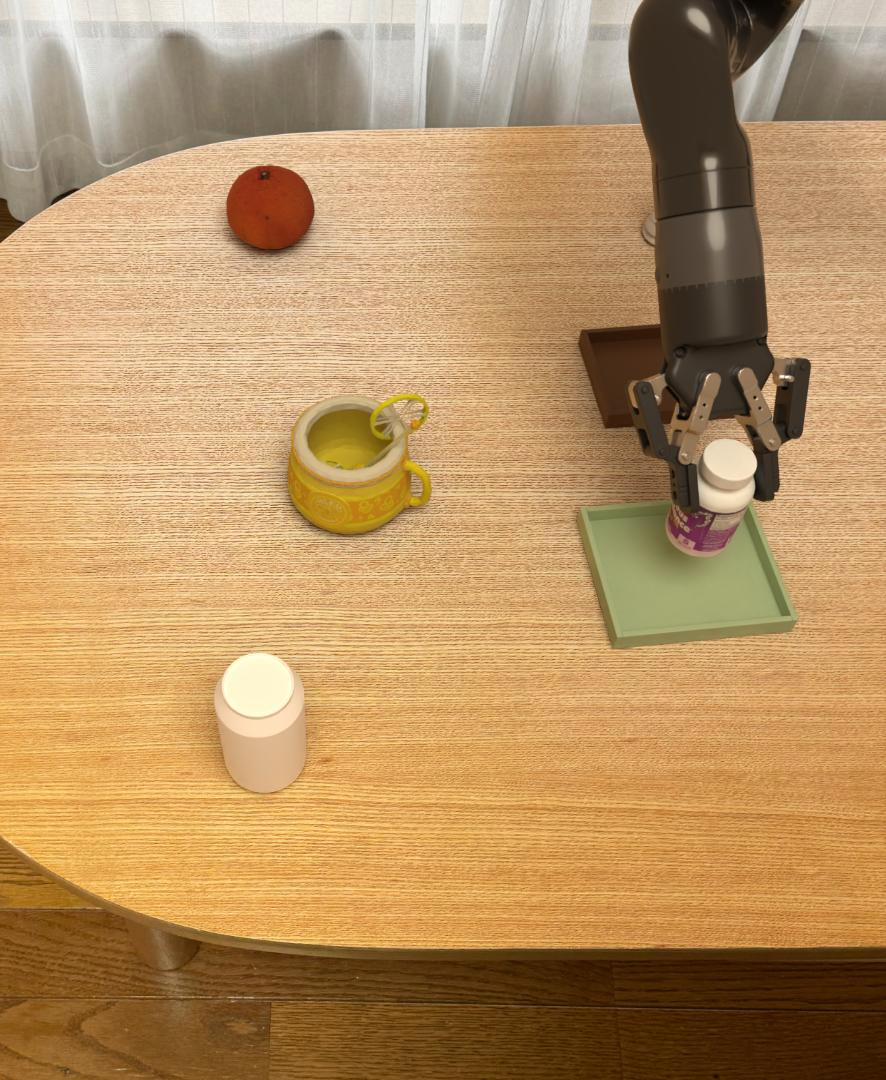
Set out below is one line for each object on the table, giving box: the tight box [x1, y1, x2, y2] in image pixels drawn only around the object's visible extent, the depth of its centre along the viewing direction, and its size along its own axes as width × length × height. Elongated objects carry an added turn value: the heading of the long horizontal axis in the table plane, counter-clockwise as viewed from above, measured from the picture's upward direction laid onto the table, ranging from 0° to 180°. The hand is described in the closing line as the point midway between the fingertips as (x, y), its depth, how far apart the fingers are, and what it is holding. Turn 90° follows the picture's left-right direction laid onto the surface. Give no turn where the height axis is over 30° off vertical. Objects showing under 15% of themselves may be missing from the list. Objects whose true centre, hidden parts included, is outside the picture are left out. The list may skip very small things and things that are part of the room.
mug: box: [286, 392, 433, 535], centre depth 98 cm, size 13×11×12 cm
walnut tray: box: [577, 323, 736, 429], centre depth 111 cm, size 13×11×2 cm
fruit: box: [225, 164, 316, 250], centre depth 120 cm, size 9×9×8 cm
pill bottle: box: [665, 438, 757, 557], centre depth 90 cm, size 5×5×10 cm
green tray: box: [576, 499, 799, 650], centre depth 98 cm, size 15×13×2 cm
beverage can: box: [213, 652, 308, 794], centre depth 84 cm, size 6×6×12 cm
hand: (726, 505), depth 88 cm, fingers closed on pill bottle, 5 cm apart
